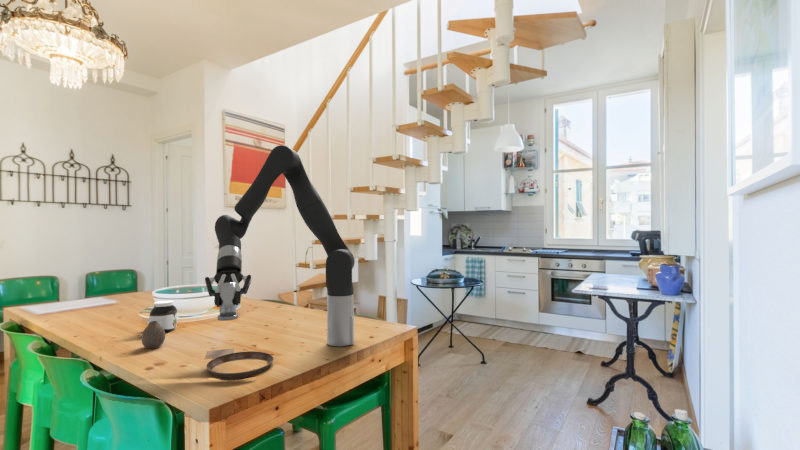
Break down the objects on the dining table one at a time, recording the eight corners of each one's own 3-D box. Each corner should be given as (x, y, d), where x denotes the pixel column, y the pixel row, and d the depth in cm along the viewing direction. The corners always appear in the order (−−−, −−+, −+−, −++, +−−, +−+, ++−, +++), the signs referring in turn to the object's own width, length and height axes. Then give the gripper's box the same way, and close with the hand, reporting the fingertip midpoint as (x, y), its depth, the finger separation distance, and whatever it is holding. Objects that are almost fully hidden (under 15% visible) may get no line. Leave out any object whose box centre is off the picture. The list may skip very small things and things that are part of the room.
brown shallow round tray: (280, 375, 107) (280, 364, 107) (210, 389, 97) (210, 377, 97) (265, 357, 122) (265, 347, 122) (202, 368, 112) (203, 357, 112)
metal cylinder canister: (241, 316, 121) (240, 281, 121) (234, 320, 115) (233, 283, 115) (222, 316, 120) (221, 281, 121) (214, 320, 115) (213, 284, 115)
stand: (233, 351, 127) (233, 348, 127) (233, 358, 119) (233, 355, 119) (207, 354, 124) (207, 351, 124) (204, 362, 116) (204, 358, 116)
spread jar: (165, 334, 148) (165, 304, 148) (136, 334, 148) (136, 304, 148) (183, 326, 160) (183, 298, 160) (156, 326, 160) (156, 298, 160)
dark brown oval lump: (169, 345, 134) (169, 320, 134) (149, 351, 127) (149, 324, 127) (157, 343, 136) (157, 318, 137) (136, 348, 130) (136, 322, 130)
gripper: (204, 255, 122) (199, 299, 111) (252, 253, 127) (252, 295, 116) (206, 270, 127) (202, 314, 116) (252, 268, 132) (253, 309, 121)
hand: (227, 304), depth 116 cm, fingers closed on metal cylinder canister, 4 cm apart
